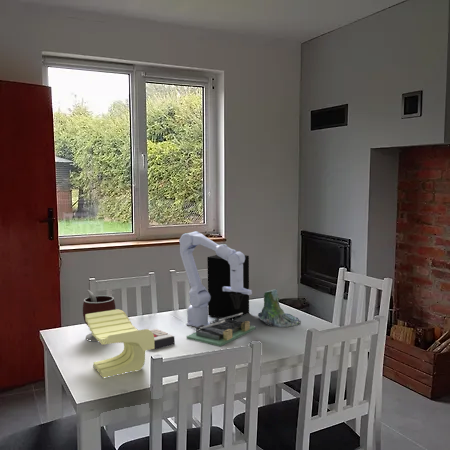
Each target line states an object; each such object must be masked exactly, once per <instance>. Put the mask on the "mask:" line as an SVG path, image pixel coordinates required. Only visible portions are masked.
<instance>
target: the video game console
mask: <svg viewBox="0 0 450 450" xmlns="http://www.w3.org/2000/svg"><path fill="white" fill-rule="evenodd" d="M244 255H245V254H244ZM206 260H207V291H208V292H209V294H210V301H209V302H208V316H211V317H216V318H219V317H222V318H225V317H229V316H232V315H235V314H239V313H243V314H241V315H239V316H235V317H232V318H228V319H229V320H236V319H239V318H241V317H243V316H245V315H249V314H250V295H248V294H244V296H243V298H242V300H241V304H240V308H239V309H235V308H234V304H233V301H232V299H231V297H230V295H229V294H231V292H228V291H223V287H224V286H227V287H231V282H230V264H229V263H228V261H226V260H225V259H223V258H221V257H219V256H217V255H216V254H215V255H211V256H207V258H206ZM242 264H243V288H245V289H249V290H250V256H249V255H245V261H244V263H242Z"/></svg>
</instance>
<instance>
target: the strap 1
mask: <svg viewBox="0 0 450 450" xmlns="http://www.w3.org/2000/svg"><path fill="white" fill-rule="evenodd" d="M223 322H225V320H223V321H220V322H216V323H213V322H212V323H213V324H210V325H206V326H203V327H200V329H203V328H206V327H210V326H213V325H217V324H220V323H223ZM200 329H199V330H200Z"/></svg>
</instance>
